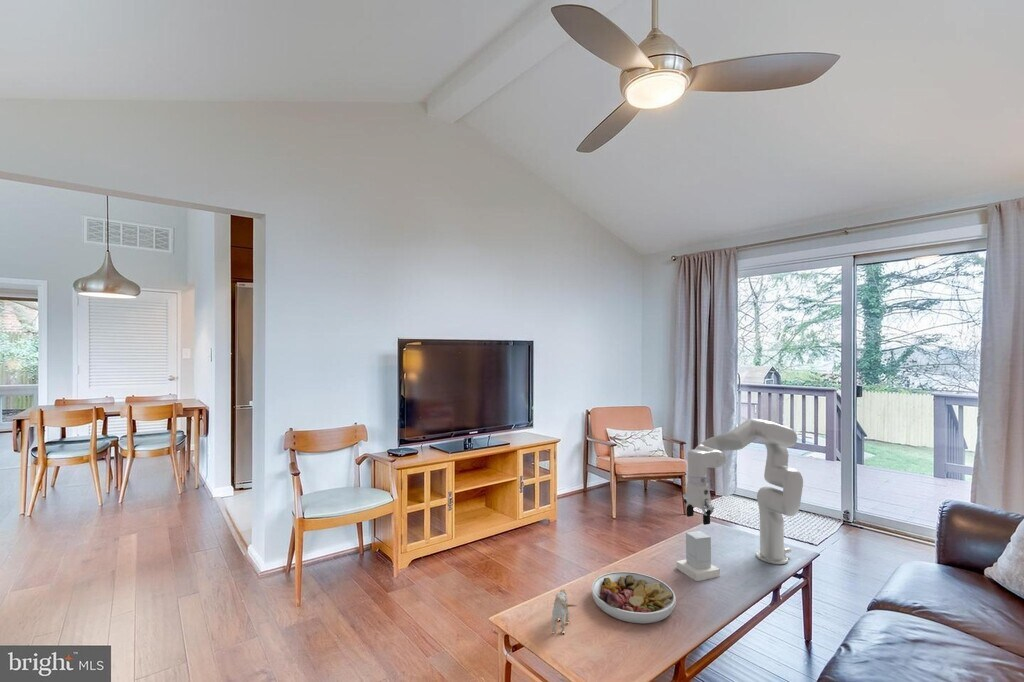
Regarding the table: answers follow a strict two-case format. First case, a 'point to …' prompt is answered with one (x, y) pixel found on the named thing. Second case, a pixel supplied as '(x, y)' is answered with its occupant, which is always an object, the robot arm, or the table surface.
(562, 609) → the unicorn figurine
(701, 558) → the supplement box
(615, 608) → the bowl
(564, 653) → the table surface
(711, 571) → the plinth
